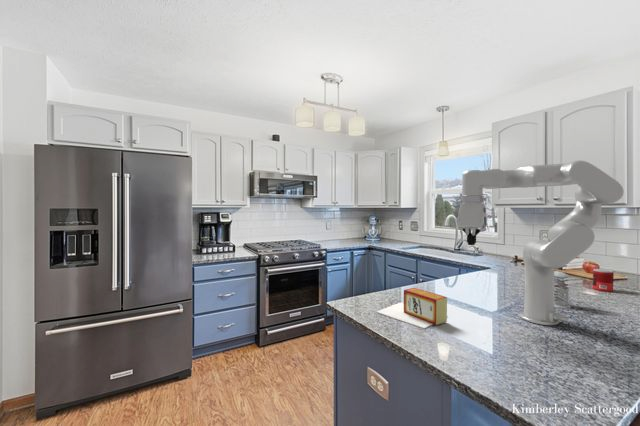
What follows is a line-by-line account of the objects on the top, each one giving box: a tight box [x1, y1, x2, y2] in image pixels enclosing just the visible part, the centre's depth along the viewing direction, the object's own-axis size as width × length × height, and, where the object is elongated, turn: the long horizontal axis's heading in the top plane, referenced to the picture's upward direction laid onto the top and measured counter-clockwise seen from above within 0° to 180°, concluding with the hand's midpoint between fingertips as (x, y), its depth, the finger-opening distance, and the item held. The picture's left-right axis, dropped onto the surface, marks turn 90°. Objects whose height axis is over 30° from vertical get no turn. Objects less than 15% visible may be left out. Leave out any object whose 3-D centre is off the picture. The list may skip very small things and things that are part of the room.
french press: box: [554, 270, 572, 309], centre depth 135 cm, size 10×12×25 cm
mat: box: [375, 302, 434, 330], centre depth 121 cm, size 22×18×1 cm
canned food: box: [592, 268, 614, 293], centre depth 158 cm, size 8×8×11 cm
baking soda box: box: [403, 287, 448, 326], centre depth 118 cm, size 10×6×16 cm
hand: (471, 244), depth 121 cm, fingers closed
